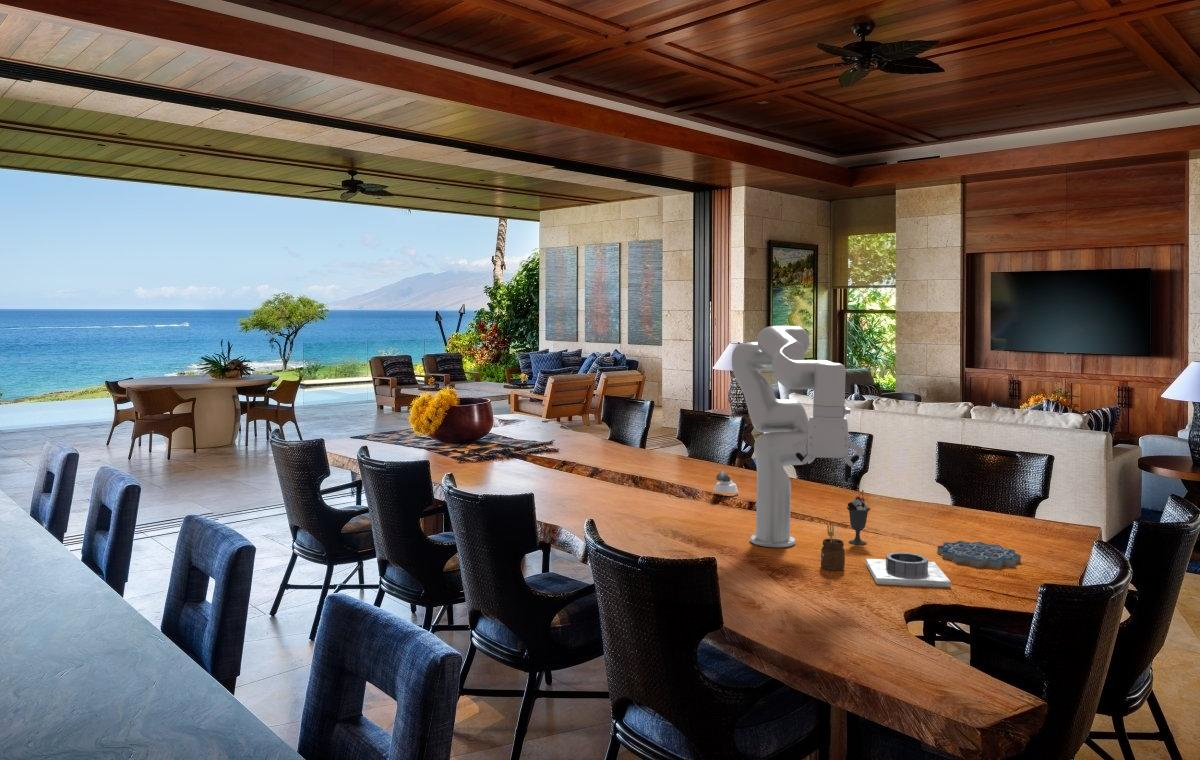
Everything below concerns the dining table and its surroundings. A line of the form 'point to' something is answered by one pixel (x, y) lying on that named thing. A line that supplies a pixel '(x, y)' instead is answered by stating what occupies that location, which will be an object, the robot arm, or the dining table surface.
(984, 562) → the decorative tile
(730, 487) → the inkwell
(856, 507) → the sundae
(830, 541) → the utensil holder
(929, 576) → the collar stand
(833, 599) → the dining table surface
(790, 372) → the robot arm
